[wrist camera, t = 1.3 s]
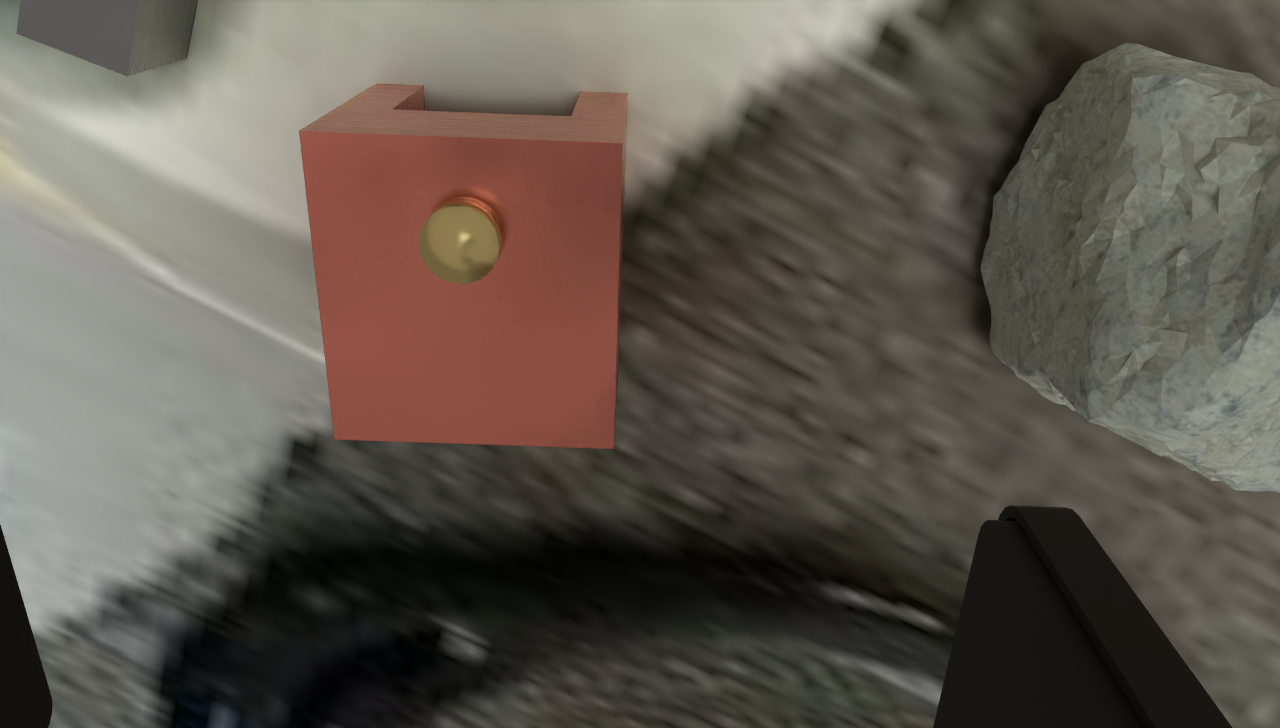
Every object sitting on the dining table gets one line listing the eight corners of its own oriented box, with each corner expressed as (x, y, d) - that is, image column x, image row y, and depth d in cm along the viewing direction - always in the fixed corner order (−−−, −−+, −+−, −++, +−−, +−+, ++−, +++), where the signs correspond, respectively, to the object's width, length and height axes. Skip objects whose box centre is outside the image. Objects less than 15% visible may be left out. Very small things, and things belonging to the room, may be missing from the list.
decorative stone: (830, 181, 25) (969, 536, 20) (1240, -168, 18) (1595, 246, 13) (1074, 284, 33) (1215, 556, 28) (1423, 68, 26) (1687, 380, 21)
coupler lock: (619, 343, 27) (612, 467, 21) (396, 335, 27) (323, 457, 21) (627, 93, 24) (621, 151, 18) (376, 83, 24) (284, 139, 18)
